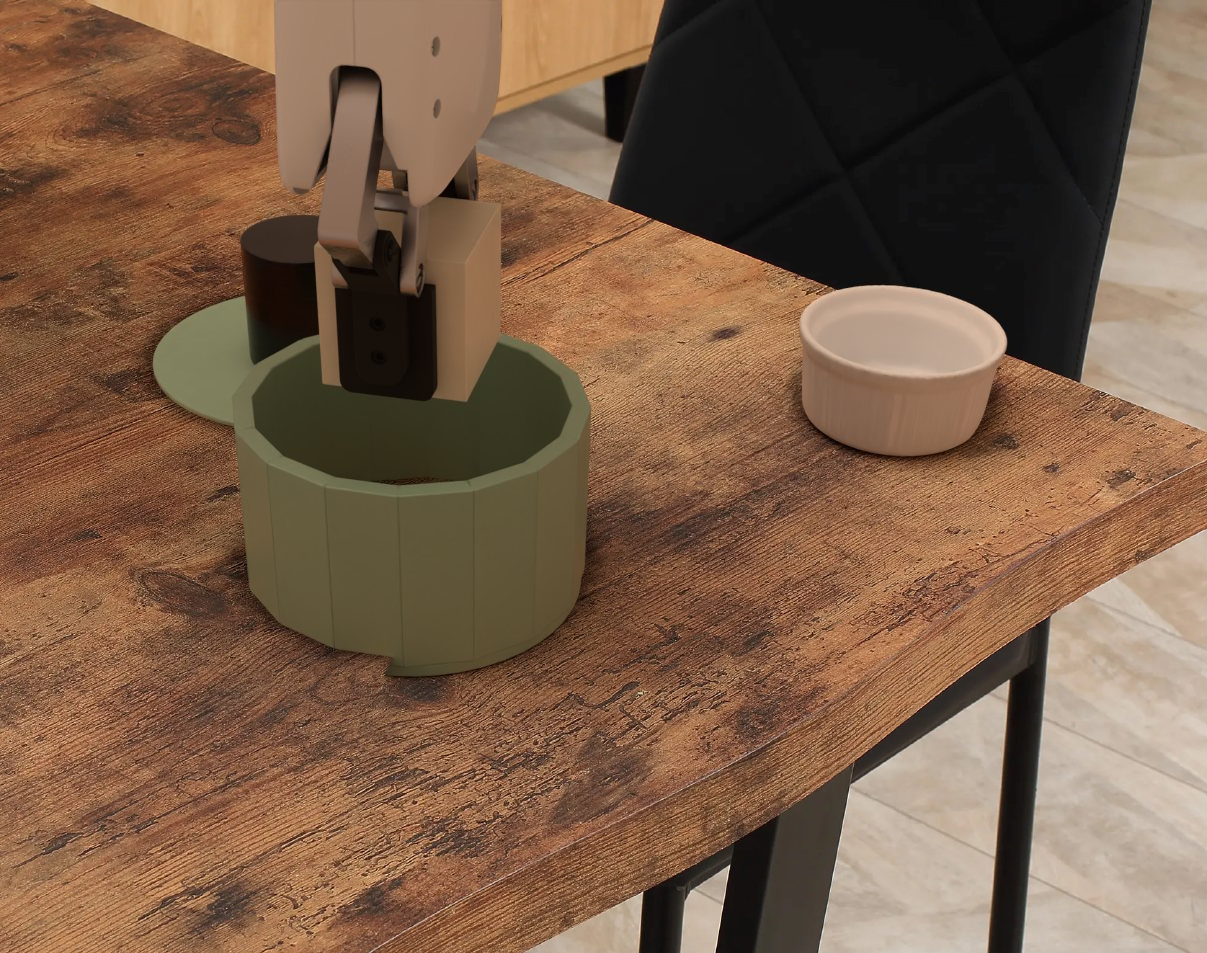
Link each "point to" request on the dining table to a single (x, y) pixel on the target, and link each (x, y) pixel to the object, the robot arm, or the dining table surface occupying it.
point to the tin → (416, 508)
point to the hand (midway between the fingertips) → (412, 348)
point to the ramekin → (897, 368)
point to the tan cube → (440, 291)
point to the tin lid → (244, 320)
